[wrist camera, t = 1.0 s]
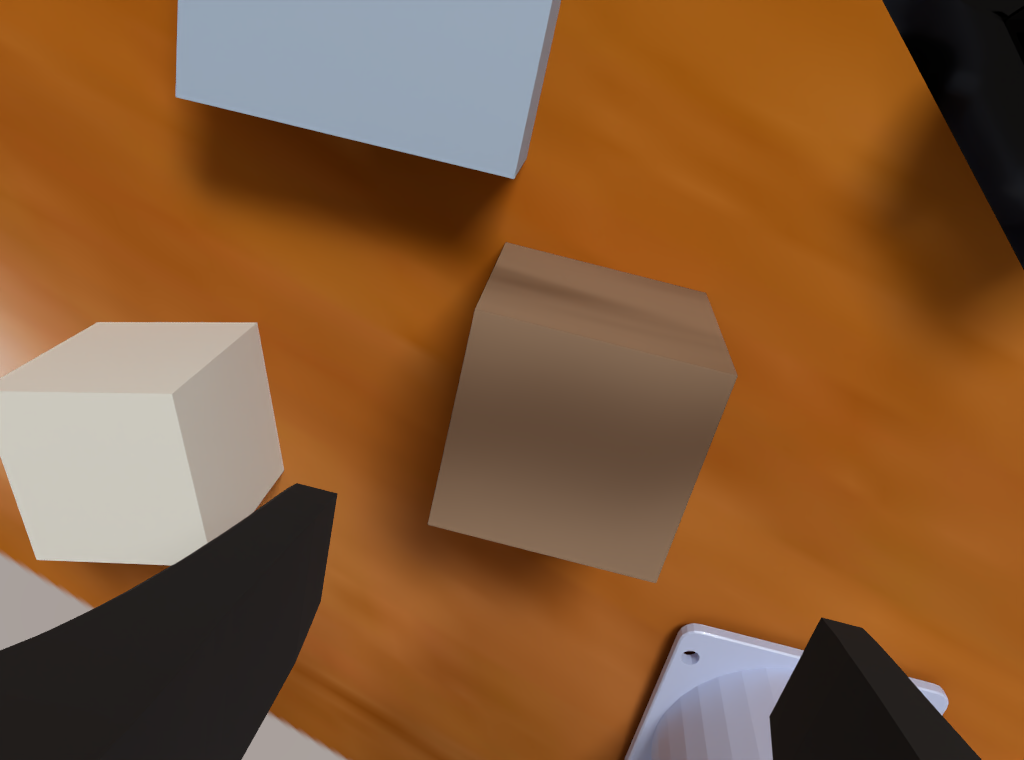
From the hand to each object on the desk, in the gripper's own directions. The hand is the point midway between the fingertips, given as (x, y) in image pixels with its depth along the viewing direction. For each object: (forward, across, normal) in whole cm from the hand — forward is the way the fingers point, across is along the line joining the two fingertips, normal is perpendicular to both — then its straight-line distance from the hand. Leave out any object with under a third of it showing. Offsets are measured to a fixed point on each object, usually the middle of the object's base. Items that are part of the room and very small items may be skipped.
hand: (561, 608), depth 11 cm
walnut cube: (+10, 0, 0) cm, 10 cm away
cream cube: (+10, +10, +4) cm, 14 cm away
